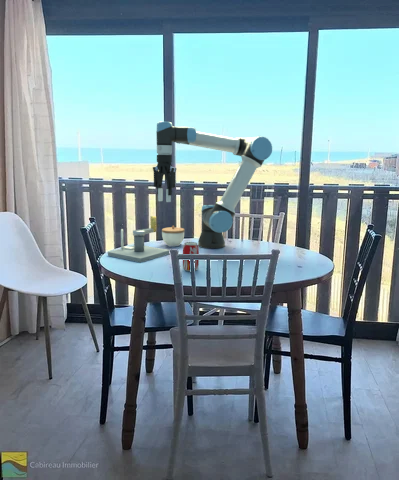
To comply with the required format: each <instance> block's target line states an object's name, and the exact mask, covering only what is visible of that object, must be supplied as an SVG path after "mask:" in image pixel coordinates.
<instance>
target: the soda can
mask: <svg viewBox="0 0 399 480" xmlns="http://www.w3.org/2000/svg"><path fill="white" fill-rule="evenodd" d="M199 248H200V246H198V242H194V241H186V242H184V244H183V247H182V255H183V254H199V255H200V252H199V251H200V250H199ZM199 262H200V260H195V261H194V263H195V271H197V270H198V269H199V264H200V263H199ZM182 269H183V270H185V271H186V272H191V271H190V261H189V260H183V259H182ZM195 271H194V272H195Z"/></svg>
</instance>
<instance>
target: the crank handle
mask: <svg viewBox="0 0 399 480" xmlns="http://www.w3.org/2000/svg"><path fill="white" fill-rule="evenodd" d="M149 218H150V227H149V228H142V229H134V230H132V236H133V237H134V236H144V237H145V236H146V235H147V234H152V233H157V216H156V215H151V216H150V217H149Z"/></svg>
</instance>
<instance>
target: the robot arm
mask: <svg viewBox="0 0 399 480" xmlns="http://www.w3.org/2000/svg"><path fill="white" fill-rule="evenodd" d="M155 134H156V162H157V164H156V166H153V167H152V171H153V172H152V173H153V187H155V188H156V194H157V202H163V200H164V198H163V196H164V194H163V193H164V191H163V180H164V176H165V182H166V186H167V187H166V188H165V193H166V194H165V195H166V196H165V199H166V201H165V202H166V203H171V202H172V195H173V189H175V188H176V172H177V167H174V166H173V165H172V162H173V155H172V153H173V143H176V144H183V145H190V146H194V147H200V148H205V149H210V150H216V151H221V152H228V153H232V155H234V156H237V157H238V156H239V157H240V158H241V162H240V164H238V167H237V169H236V171H235V173H234V175H233V177H232V178H231V180H230V181H229V184H228V186H227V187H226V190H225V192H224V193H223V195H222V196H221V198H220V200H219V201H217V202H215V203H214V204H208V205H207V204H204V205H202V206H201V210H200V211H201V230H200V231H201V232H200V235H199V239H198V242H197V245H198V247H199V248H206V249H221V248H224V247H226V241H225V238H224V233H226V232H228V231H229V230H230V229H231V228H232V227H233V223H234V219H233V218H234V217H235V215H236V207H237V205H238V203H239V201H240V199H241V197H242V196H243V194H244V192H245V190H246V188H247V187H248V184H249V183H250V182H251V180H252V179H253V175H254V174H255V172H256V170H257V169H259V168H262V165H263V164H264V161H265V160H267V159H269V157H270V156H271V155H272V152H273V144H272V142H271V141H270V140H269V138H268V137H266V136H261V135H258V136H253V137H252V136H251V137H238V136H237V137H235V138H233V137H229V136H224V135H217V134H213V133H207V132H201V131H197V129H196V128H195V127H193V126H173V123H172V122H170V121H157V123H156V133H155Z"/></svg>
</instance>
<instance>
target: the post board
mask: <svg viewBox="0 0 399 480" xmlns="http://www.w3.org/2000/svg"><path fill="white" fill-rule="evenodd" d="M124 245H125V244H124V229H123V228H121V229H120V248H119V249H115V250H110V251H107V256H108V257H112V258H118V259H122V260H127V261H131V262H135V263H144V262H147V261H151V260H153V259H158V258H160V257H164V255H165V256H167V255H170V254H169V250H170V249H165V248H159V247H154V246H150V245H145V235H144V236H134V235H133V245H129V246H127V245H126V246H124Z"/></svg>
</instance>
